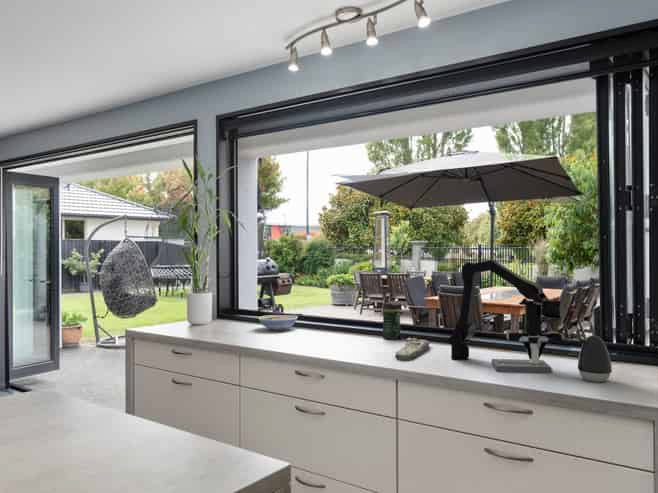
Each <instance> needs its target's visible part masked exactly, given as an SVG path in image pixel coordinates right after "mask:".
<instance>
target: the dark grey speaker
mask: <svg viewBox="0 0 658 493" xmlns="http://www.w3.org/2000/svg"><path fill="white" fill-rule="evenodd" d="M578 341H579V343H582V345H581V348H580V350H579V355H578V359H577V360H578V361H577V369H578V371H579V374H580V377H582V378H583V379H584V380H585V381H587V382H592V383H603V382H607V380H609V378H610V377H611V373H612V372H613V368H612V360H611V358H610V354H609V351H608V348H607V346H606V344H605V342H604V340H603V339H602V338H601V337H600V336H598V335H588V336H587V337H586V338H585V339H584V338H581V337H579V338H578Z"/></svg>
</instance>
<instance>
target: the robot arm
mask: <svg viewBox="0 0 658 493" xmlns="http://www.w3.org/2000/svg"><path fill="white" fill-rule="evenodd" d="M488 271H491V272H492V273H493V274H495V275H496V276H498V277H500V278H502V280H504V281H505V282H507V283H509V284H510V285H512V286H513V287H514V288H515V289H517V291H518V293H520V294H521V295H522V296H523V297H524V298H523V299H522V300H521V301H520V302H519V303H518V304H519V305H522V306H524V318H525V319H524V321H518V322H517V330H518V331H517V330H507V331H506V339H507V340H508V341H512V342H513V341H516V342H517V341H519V342H520V343H521V344H523V346H524V348H525V350H526V353H527V356H528V360H530V359H531V347H530V346H531V342H530V340H529V339H537V340H536V341H537V347H538V348H539V359H540V358H541V355H542V353H543V351H544V349H545V347H546V345H547V344H548V345H549V344H550V341H549V340H552V341H553V342H563V334H561V332H559V331H555V330H554V331H547V332H546V333H543V321H542V320H543V317H544V318H545V319H552V320H564V317H565V307H564V305H563V300H561V299H557V300H550V299H549V297H548V296H547V294H545V293H544V290H543V289H544V288H543V287H542V285H541V284H539V283H537V282H534V281H533V280H530V279H526V278H524V277H522V276H520V275H518V274H517V273H516V272H514V271H512V270H511V269H509V268H507V266H504V265H503V264H502V263H499V262H498V260H496V259H487V260H485V261H482V262H474V261H473V262H472V261H471V262H466V263H464V264H463V265H462V267H461V279H462V282H463V290H462V296H461V305H460V312H459V318H458V320H457V322H456V323H455V327H454V330H453V334H451V336H450V337H449V338H448V339H447V341H448V344H449V345H450V350H451V355H450V357H451V360H455V361H457V360H461V361H462V360H464V361H468V360H469V358H470V347H469V346H468V343H470V340H471V339H472V337H473V336H474V335H475V334H476V327H477V324H476V323H473V321H472V316H473V309H474V302H475V293H476V286H477V283H478V282H479V280H480V278H481V275H482V273H484V272H488ZM542 316H543V317H542ZM519 331H523V332H521V333H520V332H519Z"/></svg>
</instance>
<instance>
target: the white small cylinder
mask: <svg viewBox="0 0 658 493" xmlns="http://www.w3.org/2000/svg"><path fill="white" fill-rule="evenodd" d="M530 347H531V359H529V360H530V362H531V363H532V364H539V360H540V358H539V348H538V346H533V345H530Z"/></svg>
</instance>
